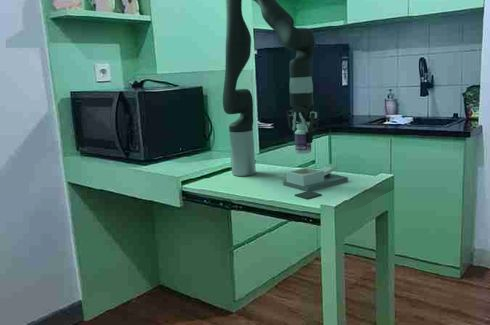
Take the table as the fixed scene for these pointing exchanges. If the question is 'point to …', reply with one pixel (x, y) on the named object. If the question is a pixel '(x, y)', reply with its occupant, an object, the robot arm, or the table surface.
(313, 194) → the pad
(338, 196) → the table surface
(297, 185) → the panel
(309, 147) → the pill bottle
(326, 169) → the rocker
